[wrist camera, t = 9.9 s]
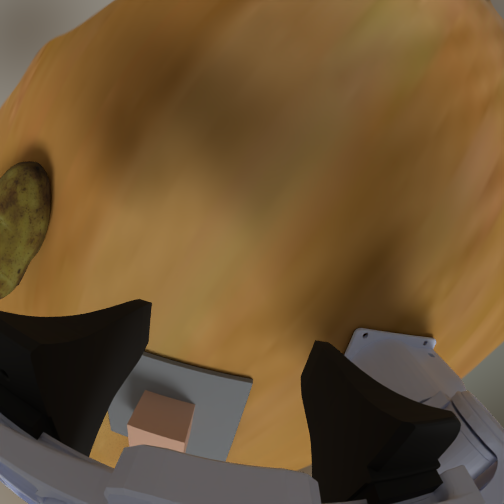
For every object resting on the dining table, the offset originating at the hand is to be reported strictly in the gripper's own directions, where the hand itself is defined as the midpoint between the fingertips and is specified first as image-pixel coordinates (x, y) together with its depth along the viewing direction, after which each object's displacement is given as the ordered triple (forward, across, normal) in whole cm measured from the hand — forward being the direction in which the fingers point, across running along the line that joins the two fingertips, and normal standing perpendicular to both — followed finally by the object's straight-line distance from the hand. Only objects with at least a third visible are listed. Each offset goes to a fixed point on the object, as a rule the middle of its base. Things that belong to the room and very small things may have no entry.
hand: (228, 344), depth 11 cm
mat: (+9, +4, +16) cm, 19 cm away
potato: (+10, +21, +1) cm, 23 cm away
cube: (+9, +4, +16) cm, 18 cm away
